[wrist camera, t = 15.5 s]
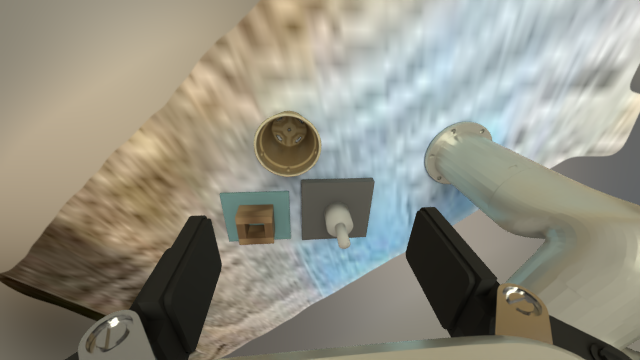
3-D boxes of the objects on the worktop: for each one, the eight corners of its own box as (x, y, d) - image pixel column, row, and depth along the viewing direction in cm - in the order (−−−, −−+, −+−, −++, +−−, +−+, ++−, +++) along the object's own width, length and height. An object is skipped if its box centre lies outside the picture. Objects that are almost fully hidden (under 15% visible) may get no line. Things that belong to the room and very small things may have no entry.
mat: (288, 191, 47) (288, 192, 47) (290, 237, 53) (290, 238, 53) (220, 192, 46) (219, 194, 46) (229, 240, 52) (229, 241, 52)
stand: (372, 177, 48) (391, 209, 39) (364, 232, 55) (378, 270, 45) (301, 179, 46) (303, 213, 37) (302, 235, 53) (303, 274, 44)
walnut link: (273, 204, 48) (271, 216, 45) (275, 229, 51) (273, 243, 48) (239, 205, 48) (234, 217, 44) (243, 231, 51) (239, 244, 47)
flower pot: (252, 141, 42) (243, 162, 34) (273, 89, 38) (269, 101, 31) (301, 162, 45) (303, 185, 37) (325, 116, 41) (333, 132, 34)
